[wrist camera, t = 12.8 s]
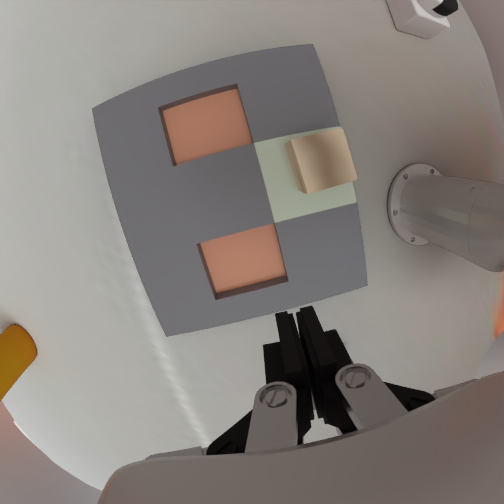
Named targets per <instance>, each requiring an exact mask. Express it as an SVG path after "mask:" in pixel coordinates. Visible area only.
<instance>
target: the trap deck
mask: <svg viewBox="0 0 504 504" xmlns="http://www.w3.org/2000/svg"><path fill="white" fill-rule="evenodd" d="M92 111H93V117H94V122H95V127H96V132H97V137H98V142H99V146H100V151H101V155H102V159H103V163H104V167H105V171H106V175H107V179H108V183H109V186H110V190H111V193H112V197H113V200H114V204H115V207H116V210H117V213H118V217H119V220H120V223H121V226H122V229H123V232H124V235H125V238H126V241H127V243H128V246H129V249H130V252H131V255H132V257H133V260H134V263H135V265H136V268H137V270H138V273H139V276H140V278H141V281H142V283H143V285H144V288H145V290H146V293H147V295H148V297H149V300H150V302H151V304H152V307H153V309H154V311H155V313H156V316H157V318H158V320H159V322H160V324H161V327H162V329H163V331H164V333H165V335H166V337H167V336H172V335H178V334H183V333H188V332H193V331H198V330H203V329H207V328H212V327H217V326H221V325H226V324H230V323H234V322H239V321H243V320H247V319H251V318H255V317H259V316H263V315H267V314H271V313H275V312H279V311H283V310H286V309H290V308H294V307H297V306H301V305H305V304H308V303H312V302H315V301H319V300H322V299H325V298H329V297H332V296H335V295H339V294H342V293H345V292H348V291H352V290H355V289H358V288H361V287H364V286H367V285H368V284H367V273H366V263H365V255H364V247H363V239H362V232H361V225H360V219H359V213H358V207H357V201H356V196H355V190H354V185H353V181H352V182H348V183H345V184H341V185H338V186H334V187H331V188H328V189H324V190H321V191H318V192H314V193H311V194H305V193H303V192H300V191H299V189H298V186H297V183H296V180H295V176H294V173H293V170H292V167H291V164H290V161H289V157H288V154H287V151H286V148H285V145H284V144H285V143H287V142H289V141H290V140H293V139H297V138H300V137H304V136H308V135H312V134H316V133H320V132H324V131H329V130H333V129H338V128H340V125H339V121H338V118H337V114H336V111H335V107H334V104H333V101H332V97H331V94H330V91H329V88H328V85H327V82H326V79H325V76H324V73H323V70H322V67H321V64H320V61H319V59H318V56H317V53H316V51H315V48H314V45H313V44H307V45H297V46H288V47H280V48H273V49H267V50H261V51H255V52H250V53H245V54H240V55H236V56H231V57H227V58H223V59H219V60H215V61H211V62H207V63H204V64H200V65H197V66H194V67H190V68H187V69H184V70H181V71H178V72H175V73H172V74H169V75H166V76H164V77H161V78H158V79H156V80H153V81H150V82H148V83H145V84H143V85H141V86H138V87H136V88H134V89H131V90H129V91H127V92H124V93H122V94H120V95H118V96H116V97H114V98H112V99H110V100H108V101H106V102H104V103H102V104H100V105H98V106H96V107H94V108H92Z"/></svg>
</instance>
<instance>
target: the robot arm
mask: <svg viewBox="0 0 504 504" xmlns="http://www.w3.org/2000/svg"><path fill="white" fill-rule="evenodd" d="M393 211H394V212H393ZM388 216H389V219H390V223H391V225H392V227H393V230H394V231H395V232H396V234H397V235H398V236H399V237H400V238H401V239H402V240H404V241H406V242H407V243H409V244H412V245H425V244H428V243H430V242H432V243H434V244H436V245H438V246H440V247H442V248H444V249H446V250H448V251H451V252H453V253H455V254H457V255H459V256H461V257H463V258H464V259H466V260H468V261H470V262H472V263H474V264H476V265H478V266H480V267H482V268H484V269H486V270H488V271H492V272H503V271H504V185H502V184H497V183H491V182H484V181H478V180H471V179H464V178H457V177H448V176H442V175H441V174H440V172H439V171H437V170H436V169H435V168H434V167H432V166H430V165H427V164H419V163H417V164H411V165H409V166H407V167H405V168H404V169H403V170H401V171H400V172H399V174H398V175H397V176H396V177H395V179H394V181H393V183H392V185H391V188H390V191H389V196H388ZM275 316H276V322H277V327H278V333H279V338H280V342H276V343H271V344H265V345H263V351H264V362H265V374H266V385H264V386H263V387H261V388H260V389H259V390H258V391H257V393H256V395H255V399H254V405H253V409H252V410H251V411H250V412H249V413H248V414H247V415H245V416H244V417H243V418H242V419H241V420H239V421H238V422H237V423H236V424H235V425H233V426H232V427H231V428H230V429H228V430H227V431H226V432H225V433H223V434H222V435H221V436H220V437H218V438H217V439H216V440H215V441H213V442H212V443H211V444H210V445H209V447H206V448H202V447H201V446H199V447H194V448H189V449H184V450H178V451H172V452H166V453H158V454H154V455H150V456H149V457H147V458H146V459H145V460H142V461H138V462H133V463H130V464H127V465H125V466H123V467H121V468H119V469H117V470H116V471H115V472H114V473H113V474H112V475H111V477H110V478H109V480H108V481H107V483H106V485H105V487H104V489H103V491H102V494H101V496H100V498H99V501H98V504H504V371H503V372H498V373H494V374H491V375H488V376H485V377H482V378H480V379H474V380H470V381H467V382H464V383H460V384H457V385H454V386H450V387H447V388H443V389H439V390H435V391H434V394H430V393H427V392H425V391H420V390H416V389H411V388H407V387H403V386H399V385H394V384H390V383H386V382H383V381H382V380H381V379H380V377H379V376H378V375H377V374H376V373H375V371H374V370H373V369H372V368H371V367H369V366H367V365H365V364H359V363H358V364H353V363H352V360H351V358H350V356H349V354H348V352H347V350H346V348H345V346H344V344H343V342H342V340H341V339H340V337H339V335H338V333H337V331H336V330H335V329H334V330H330V331H326V332H324V331H323V329H322V326H321V324H320V322H319V320H318V317H317V315H316V313H315V311H314V308H313V306H308V307H304V308H300V312H296V316H297V323H298V329H299V334H298V331H297V327H296V324H295V320H294V317H293V314H292V313H291V314H288V313H287V311H285V312H280V313H275ZM299 336H300V337H299ZM311 392H312V393H311ZM312 396H313V400H314V404H315V408H316V411H317V415H318V418H323V419H324V422H325V424H330V425H332V426H335V427H336V430H337V433H338V435H339V436H336V437H332V438H328V439H324V440H320V441H315V442H311V443H306V444H304V435H305V434H306V433H307V432H308V431H309V429H310V428H311V421H310V420H314V411H313V402H312Z"/></svg>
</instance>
